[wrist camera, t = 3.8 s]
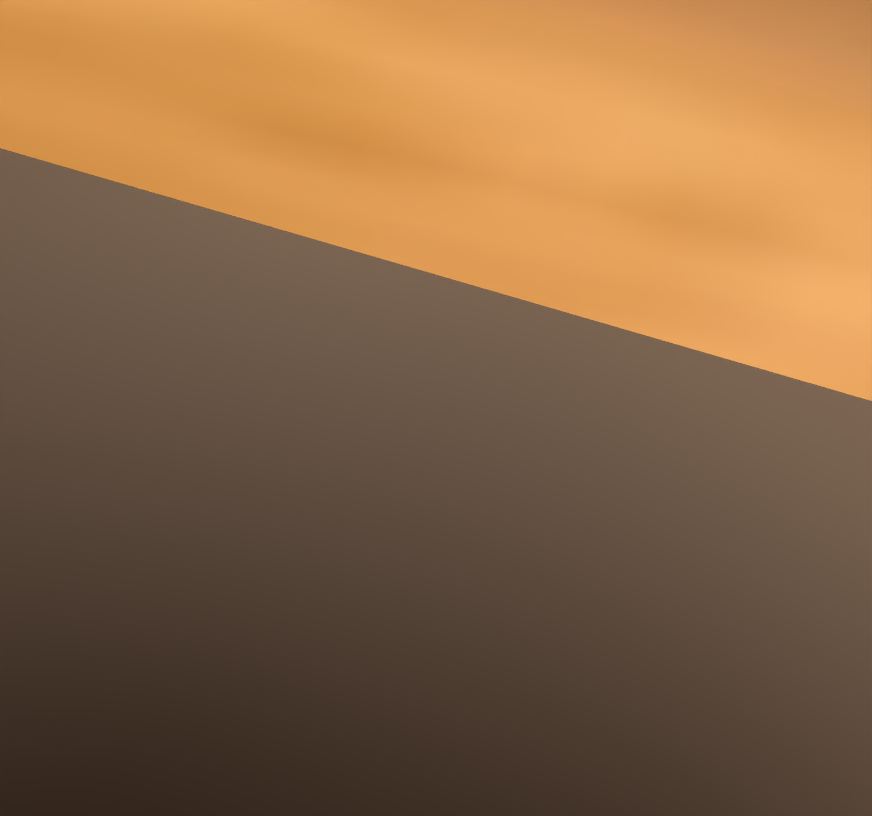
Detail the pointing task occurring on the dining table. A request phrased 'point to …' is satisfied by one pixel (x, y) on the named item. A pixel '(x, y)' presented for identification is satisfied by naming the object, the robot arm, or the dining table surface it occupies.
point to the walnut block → (402, 540)
